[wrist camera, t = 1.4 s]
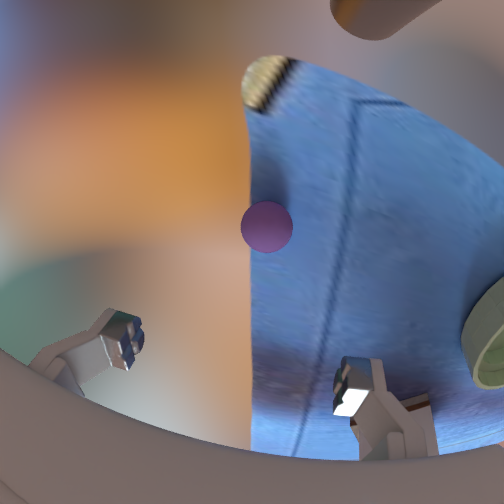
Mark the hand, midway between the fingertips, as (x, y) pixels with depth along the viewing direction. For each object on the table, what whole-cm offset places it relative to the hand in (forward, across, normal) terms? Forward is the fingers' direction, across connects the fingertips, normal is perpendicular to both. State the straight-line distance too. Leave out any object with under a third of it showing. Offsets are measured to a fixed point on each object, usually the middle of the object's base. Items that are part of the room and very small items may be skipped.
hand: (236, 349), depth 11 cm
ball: (+11, 0, 0) cm, 11 cm away
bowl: (+13, -27, +6) cm, 30 cm away
